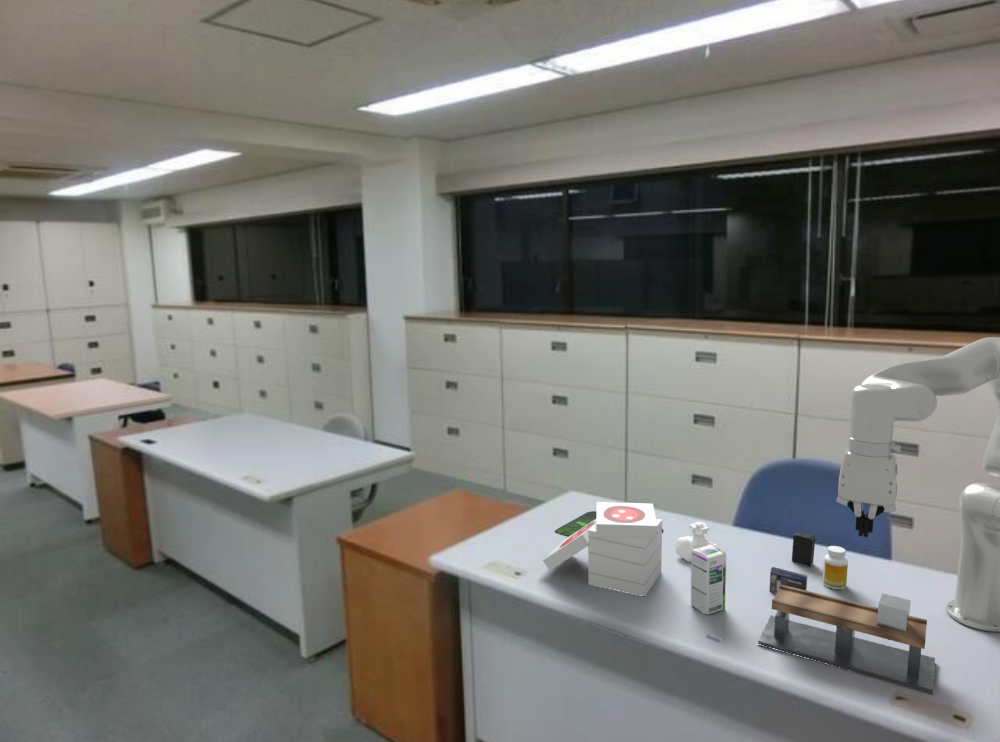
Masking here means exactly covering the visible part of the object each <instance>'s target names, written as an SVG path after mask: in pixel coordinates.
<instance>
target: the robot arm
mask: <svg viewBox="0 0 1000 742" xmlns="http://www.w3.org/2000/svg"><path fill="white" fill-rule="evenodd" d="M985 384H988V387H989V388H990V390H991V392H992V394H993V396H994V397H993V398H994V399H995V403H996V409H997V415H996V419H995V422H994V425H993V428H992V432H991V435H990V438H989V440H988V443H987V446H986V449H985V450H984V455H983V458H982V469H983V470H984V473H986V474H987V475H989V476H991V477H993V478H995V479H997V480H1000V336H999V337H997V336H990V337H989V336H988V337H983V338H979V339H978V340H975V341H973V342H970V343H969V344H966V345H964V346H962V347H960V348H957V349H955V350H953V351H952V352H950V353H947V354H946V355H943V356H938V357H932V358H926V359H921V360H917V361H911V362H910V361H909V362H904V363H899V364H895V365H892V366H888V367H885V368H884V369H882V370H880V371H877V372H874V373H873V374H871V375H869V376H868V377H867V378H865V379H864V381H862V383H861V384H859V385H857V386H855V387H854V388H853V390H852V395H851V407H850V408H851V409H850V421H849V437H848V448H845V449H844V452H843V455H842V460H841V465H840V470H839V471H840V472H839V478H838V487H837V488H838V489H837V497H836V501H835V502H836V503H838V504H841V505H843V506H847V508H849V509H850V510H851V511H852V512H853V514H854V516H855V517H856V519H855V531H858V537H861V538H862V537H864V538H866V539H867V538H868V537H869V534H870V533H871V534H873V531H874V520H875V518H877V516H880V515H881V514H882V513H895V512H896V511H897V510H898V509H897V506H898V505H897V501H896V499H897V493H898V460H897V456H896V455H895V454H894V453H896V452H899V453H900V452H901V449H902V448H901V446H902V445H901V444H897V443H895V442H894V439H893V438H894V426H895V422H910V423H911V422H912V423H913V422H914V423H915V422H921V421H923V420H926V419H928V418H929V417H931V416H932V415H933V414H934V412H935V411H936V409H937V405H938V400H937V397H943V396H944V397H949V396H960V395H964V394H966V393H967V394H968V393H969V392H971V391H972V390H974V389H977V388H978V387H980V386H982V385H985ZM863 504H865V505H870V507H869V509H868V511H867V512H866V513H865V511H864V509H863V508H864V506H863ZM959 513H960V519H961V539H960V548H959V559H958V570H957V579H956V589H955V599H953V600H950V601H948V602H947V604H946V608H945V610H946V612H947V614H948V615H949V616H950V617H951V618H952V619H953V620H955V621H957V622H958V623H961V624H962V625H965V626H967V627H970V628H973V629H976V630H981V631H986V632H993V633H995V632H996V633H998V632H999V633H1000V485H998V484H993V483H990V482H973V483H970V484H968V485H967V486H966V487H964V488H963V490H962V492H961V493H960V496H959Z"/></svg>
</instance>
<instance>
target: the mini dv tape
mask: <svg viewBox="0 0 1000 742" xmlns="http://www.w3.org/2000/svg"><path fill="white" fill-rule="evenodd" d="M769 575H770V576H769V592H772V593H775V594H777V592H778V590H779V586H780V584H781V585H785V586H789V587H793V588H797V589H802V590H806V591H808V589H807V587H808V575H807V574H802V573H799V572H795V571H791V570H787V569H784V568H783V569H782V568H778V567H776V566H772V567H771V568H770V574H769Z"/></svg>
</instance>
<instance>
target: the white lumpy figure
mask: <svg viewBox="0 0 1000 742" xmlns="http://www.w3.org/2000/svg"><path fill="white" fill-rule="evenodd" d="M688 527H689V529H691V533H692V536H690V535H687V536H682V537H678V538H677V539H676V540H675V553H676V554H677V556H678V557H679V558H681V559H683V560H685V561H686V562H688V563H689V562H690V563H691V550H693V549H697V548H701V547H705V546H707V545H711V546H714V547H716V548H718V549H719V547H718V545H717V544H716V543H714V542H712V541H711V540H708V539H706V536H705V535H708V531H710V530H711V528H710V527H709V526H708V525H707V524H706V523H705V522H702V521H696V522H694V523H689V524H688Z"/></svg>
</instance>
